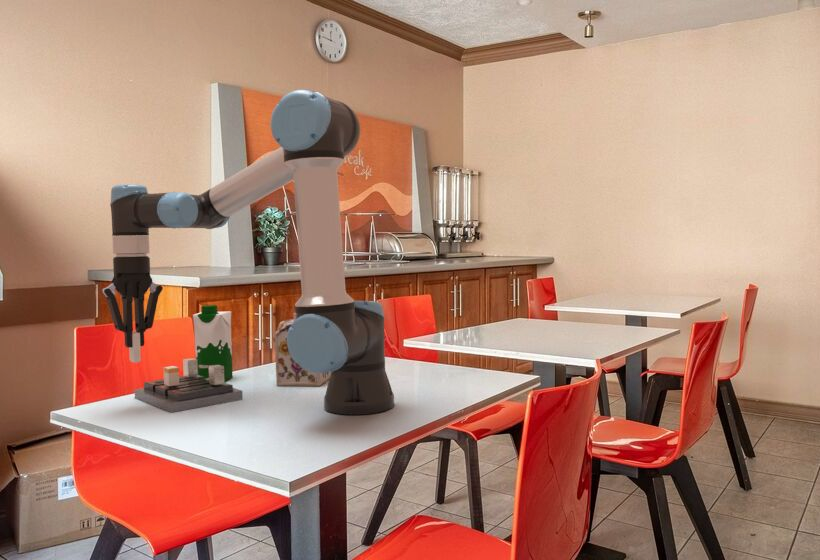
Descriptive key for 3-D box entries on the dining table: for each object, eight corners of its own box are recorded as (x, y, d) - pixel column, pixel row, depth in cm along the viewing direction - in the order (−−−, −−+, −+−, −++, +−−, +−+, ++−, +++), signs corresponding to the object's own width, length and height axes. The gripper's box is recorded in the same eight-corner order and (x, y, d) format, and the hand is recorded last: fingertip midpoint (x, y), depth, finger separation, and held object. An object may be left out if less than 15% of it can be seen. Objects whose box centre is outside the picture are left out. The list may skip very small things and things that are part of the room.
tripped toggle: (179, 384, 160) (178, 367, 160) (169, 386, 159) (168, 368, 159) (174, 382, 163) (173, 365, 162) (163, 384, 161) (163, 367, 161)
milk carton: (192, 383, 181) (189, 307, 179) (206, 376, 190) (202, 303, 188) (225, 383, 180) (222, 306, 178) (237, 376, 189) (234, 303, 187)
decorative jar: (320, 387, 173) (318, 314, 172) (275, 386, 175) (272, 315, 174) (333, 377, 185) (331, 309, 184) (290, 377, 186) (288, 310, 185)
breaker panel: (242, 399, 161) (241, 365, 161) (171, 412, 150) (169, 376, 149) (202, 386, 177) (201, 355, 176) (134, 397, 166) (133, 364, 165)
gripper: (153, 254, 161) (157, 355, 162) (94, 256, 152) (99, 363, 154) (167, 254, 155) (170, 359, 157) (106, 256, 147) (110, 367, 148)
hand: (135, 361), depth 155 cm, fingers closed
